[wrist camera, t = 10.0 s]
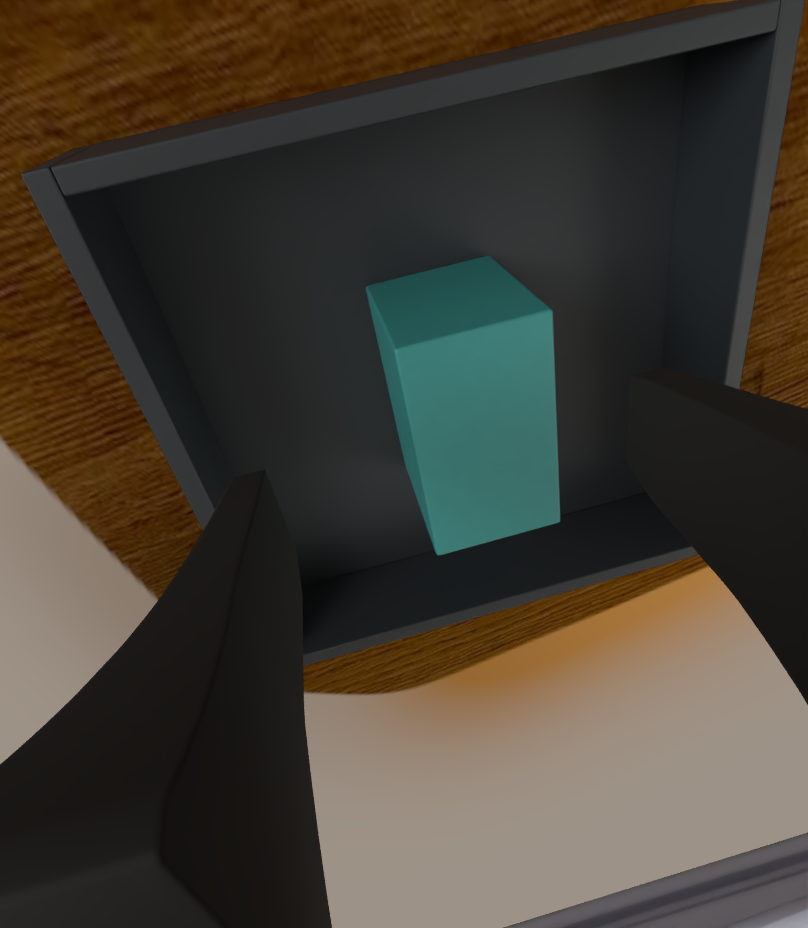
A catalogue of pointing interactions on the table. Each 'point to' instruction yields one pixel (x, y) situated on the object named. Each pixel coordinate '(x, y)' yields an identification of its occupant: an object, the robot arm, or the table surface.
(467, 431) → the teal block
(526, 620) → the table surface
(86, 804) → the robot arm
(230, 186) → the dark grey square tray
